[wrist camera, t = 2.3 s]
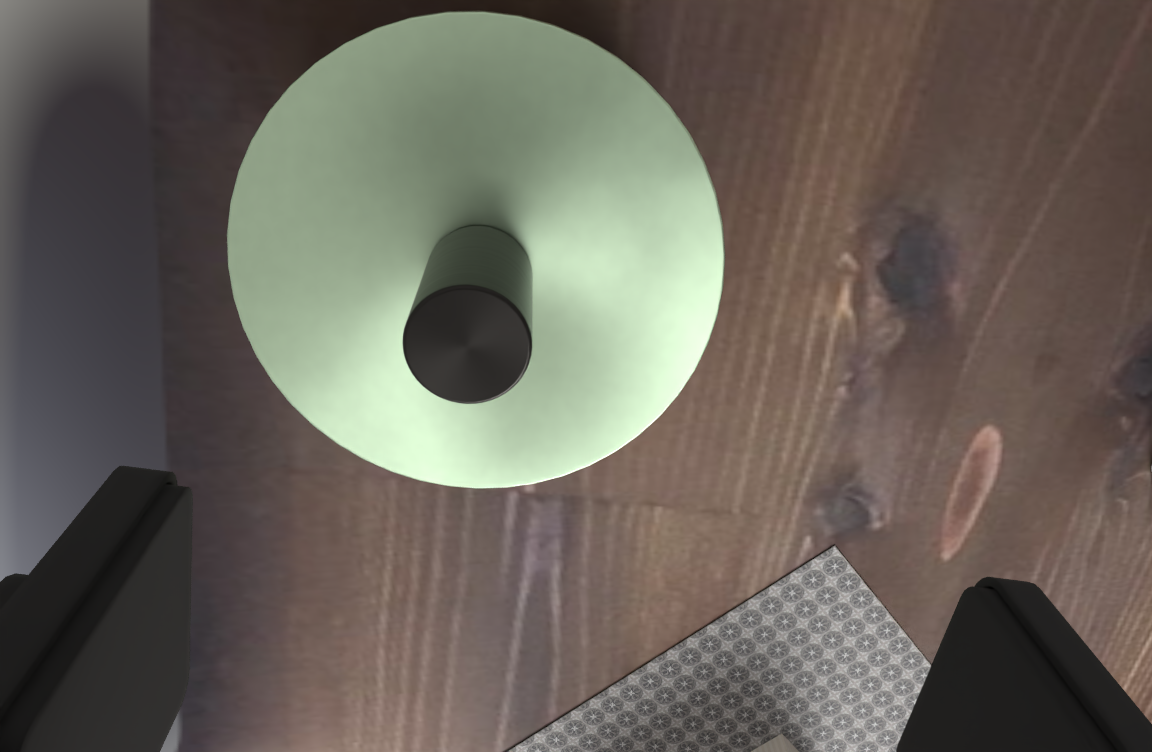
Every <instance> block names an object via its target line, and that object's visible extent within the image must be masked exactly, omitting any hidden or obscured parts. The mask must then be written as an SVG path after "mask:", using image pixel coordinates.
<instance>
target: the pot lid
mask: <svg viewBox="0 0 1152 752" xmlns="http://www.w3.org/2000/svg"><path fill="white" fill-rule="evenodd" d="M227 246H228V268H229V274H230V279H231V285H232V291H233V297H234V300H235V303H236V306H237V309H238V313H239V316H240V319H241V322H242V325H243V328H244V330H245V332H246V335H247V337H248V339H249V341H250V343H251V345H252V347H253V350H254V352H255V354H256V356H257V357H258V359H259V361H260V362H261V364H262V365H263V367H264V369H265V370H266V372H267V373H268V375H269V376H270V378H271V380H272V381H273V383H274V384H275V385H276V386H277V387H278V389H279V390H280V391H281V392H282V394H283V395H284V396H285V397H286V398H287V400H288V401H289V402H290V403H291V405H292V406H293V407H294V408H295V409H297V410H298V411H299V412H300V413H301V414H302V415H303V416H304V417H305V418H306V419H307V420H308V421H309V422H310V423H311V424H312V425H313V426H314V427H316V428H317V429H318V430H320V431H321V432H322V433H324V434H325V435H326V436H328V437H329V438H330V439H332V440H333V441H334V442H335V443H337V444H338V445H340V446H342V447H343V448H345V449H347V450H348V451H350V452H352V453H354V454H355V455H357V456H359V457H360V458H362V459H364V460H366V461H368V462H370V463H373V464H375V465H377V466H379V467H382V468H384V469H386V470H388V471H391V472H394V473H397V474H400V475H403V476H406V477H410V478H413V479H416V480H419V481H424V482H429V483H434V484H440V485H445V486H452V487H465V488H477V489H478V488H507V487H514V486H521V485H528V484H535V483H539V482H542V481H546V480H550V479H554V478H558V477H561V476H564V475H567V474H569V473H572V472H575V471H577V470H580V469H582V468H585V467H587V466H590V465H592V464H594V463H595V462H597V461H599V460H601V459H603V458H605V457H607V456H609V455H610V454H612V453H614V452H616V451H617V450H619V449H620V448H621V447H623V446H624V445H626V444H627V443H629V442H630V441H631V440H633V439H634V438H636V437H637V436H639V435H640V434H641V433H642V432H643V431H644V430H645V429H646V428H647V427H649V426H650V425H651V424H652V423H653V422H654V421H655V420H656V419H657V418H659V417H660V416H661V414H662V413H663V412H664V411H665V410H666V409H667V407H668V406H669V405H670V404H671V403H672V402H673V401H674V399H675V398H676V397H677V396H678V395H679V393H680V392H681V390H682V389H683V387H684V386H685V384H686V383H687V381H688V380H689V378H690V377H691V375H692V374H693V372H694V371H695V369H696V367H697V365H698V363H699V361H700V359H701V357H702V355H703V353H704V351H705V349H706V347H707V345H708V342H709V339H710V336H711V333H712V331H713V328H714V325H715V322H716V319H717V316H718V311H719V306H720V301H721V296H722V290H723V285H724V268H725V245H724V233H723V222H722V218H721V213H720V208H719V204H718V199H717V195H716V191H715V188H714V186H713V183H712V180H711V177H710V175H709V172H708V169H707V166H706V164H705V161H704V159H703V157H702V156H701V154H700V152H699V150H698V148H697V146H696V144H695V142H694V140H693V139H692V137H691V135H690V133H689V131H688V130H687V129H686V127H685V126H684V124H683V123H682V122H681V120H680V119H679V118H678V116H677V115H676V113H675V112H674V111H673V109H672V108H671V106H670V105H669V104H668V103H667V102H666V101H665V100H664V99H663V98H662V97H661V95H660V94H659V93H658V92H657V91H656V90H655V89H654V88H653V87H652V86H651V85H650V84H649V83H648V82H647V81H646V80H645V79H644V78H643V77H642V76H641V75H640V74H638V73H637V72H636V71H635V70H633V69H632V68H631V67H630V66H628V65H627V64H626V63H625V62H623V61H622V60H621V59H620V58H618V57H617V56H615V55H614V54H612V53H610V52H609V51H607V50H605V49H604V48H602V47H600V46H599V45H597V44H595V43H594V42H592V41H590V40H589V39H587V38H585V37H582V36H580V35H578V34H575V33H573V32H571V31H568V30H566V29H564V28H561V27H559V26H557V25H554V24H551V23H547V22H543V21H540V20H536V19H532V18H529V17H525V16H521V15H515V14H507V13H500V12H492V11H445V12H439V13H432V14H426V15H419V16H413V17H410V18H406V19H403V20H400V21H397V22H393V23H390V24H387V25H384V26H380V27H378V28H375V29H373V30H371V31H369V32H367V33H365V34H363V35H361V36H359V37H356V38H354V39H352V40H350V41H348V42H346V43H344V44H342V45H341V46H339V47H338V48H336V49H335V50H333V51H332V52H330V53H329V54H327V55H326V56H324V57H323V58H321V59H320V60H318V61H317V62H315V63H314V64H313V65H312V66H311V67H310V68H309V69H308V70H307V71H305V72H304V73H303V74H302V75H301V76H300V77H299V78H298V79H297V80H296V81H294V82H293V83H292V84H291V85H290V86H289V87H288V88H287V90H286V91H285V92H284V93H283V95H282V96H281V97H280V98H279V99H278V101H277V102H276V103H275V104H274V106H273V107H272V108H271V109H270V110H269V112H268V113H267V115H266V116H265V118H264V120H263V121H262V123H261V125H260V126H259V128H258V130H257V131H256V133H255V135H254V136H253V138H252V140H251V142H250V144H249V147H248V149H247V152H246V154H245V156H244V159H243V161H242V164H241V166H240V168H239V171H238V175H237V179H236V183H235V187H234V190H233V194H232V198H231V202H230V212H229V221H228V231H227Z"/></svg>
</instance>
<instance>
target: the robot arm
mask: <svg viewBox="0 0 1152 752" xmlns="http://www.w3.org/2000/svg"><path fill="white" fill-rule="evenodd" d="M192 506H193V498H192V491H191V489H190V488H189V487H183V486H177V480H176V476H175V474H174V473H173V472H167V471H160V470H151V469H144V468H136V467H129V466H119V467H118V468H117V469H115V470H114V471H113V473H112V474H111V475H110V476H109V477H108V479H107V480H106V481H105V482H104V484H103V485H102V486H101V487H100V488H99V490H98V491H97V492H96V493H95V495H94V496H93V497H92V498H91V499H90V501H89V502H88V503H87V504H86V506H85V507H84V508H83V509H82V510H81V512H80V513H79V514H78V515H77V516H76V518H75V519H74V520H73V521H72V523H71V524H70V525H69V526H68V527H67V529H66V530H65V531H64V533H63V534H62V535H61V536H60V537H59V539H58V540H57V541H56V542H55V543H54V545H53V546H52V547H51V548H50V549H49V551H48V552H47V553H46V554H45V556H44V557H43V558H42V559H41V560H40V562H39V563H38V564H37V565H36V567H35V568H34V569H33V570H32V571H31V573H30V574H29V575H24V574H13V575H10V576H7V577H5V578H4V579H3V580H2V581H1V582H0V752H160V750H161V748H162V746H163V744H164V741H165V739H166V737H167V735H168V733H169V730H170V729H171V726H172V724H173V722H174V720H175V718H176V716H177V714H178V712H179V709H180V707H181V705H182V702H183V700H184V696H185V693H186V689H187V685H188V679H189V670H190V616H191V561H192ZM896 752H1152V724H1151V723H1150V722H1149V720H1148V719H1147V718H1146V717H1145V716H1144V714H1143V713H1142V712H1141V711H1140V709H1139V708H1138V707H1137V706H1136V705H1135V703H1134V702H1133V701H1132V700H1131V699H1130V697H1129V696H1128V695H1127V694H1126V692H1125V691H1124V690H1123V689H1122V688H1121V686H1120V685H1119V684H1118V683H1117V682H1116V680H1115V679H1114V678H1113V677H1112V675H1111V674H1110V673H1109V672H1108V671H1107V669H1106V668H1105V667H1104V666H1103V665H1102V663H1101V662H1100V661H1099V660H1098V658H1097V657H1096V656H1095V655H1094V654H1093V652H1092V651H1091V650H1090V649H1089V648H1088V646H1087V645H1086V644H1085V643H1084V641H1083V640H1082V639H1081V638H1080V637H1079V635H1078V634H1077V633H1076V632H1075V631H1074V629H1073V628H1072V627H1071V626H1070V624H1069V623H1068V622H1067V621H1066V620H1065V618H1064V617H1063V616H1062V615H1061V614H1060V612H1059V611H1058V610H1057V609H1056V607H1055V606H1054V605H1053V604H1052V603H1051V601H1050V600H1049V599H1048V598H1047V597H1046V595H1045V594H1044V593H1043V592H1042V590H1041V589H1040V588H1039V587H1037V586H1036V585H1035V584H1033V583H1030V582H1025V581H1017V580H1009V579H1001V578H993V577H986V578H982V579H981V580H980V581H979V582H978V583H977V584H976V585H975V587H969V588H967V589H966V590H965V591H964V592H963V594H962V596H961V598H960V600H959V602H958V605H957V607H956V609H955V612H954V614H953V616H952V619H951V621H950V623H949V626H948V628H947V630H946V633H945V635H944V637H943V640H942V642H941V644H940V647H939V649H938V651H937V654H936V656H935V658H934V661H933V663H932V665H931V668H930V670H929V672H928V675H927V677H926V679H925V682H924V684H923V686H922V689H921V691H920V693H919V696H918V698H917V700H916V703H915V705H914V707H913V710H912V712H911V715H910V717H909V719H908V722H907V724H906V726H905V729H904V731H903V733H902V736H901V738H900V740H899V743H898V746H897V749H896Z"/></svg>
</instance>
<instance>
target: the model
mask: <svg viewBox="0 0 1152 752" xmlns="http://www.w3.org/2000/svg"><path fill="white" fill-rule="evenodd" d="M753 752H799V751H798V750H797V748H796V747H794V745H793V744H791V742H790V741H789V740H788V739H787V738H786V737H785V736H784V735H783V734H781V735H780V736H779V737H776V738H774V739H772V740H771V741H770V742H766V743H765V744H764V745H763V746H762V747H758V748H757V749H755V750H754V751H753Z"/></svg>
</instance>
